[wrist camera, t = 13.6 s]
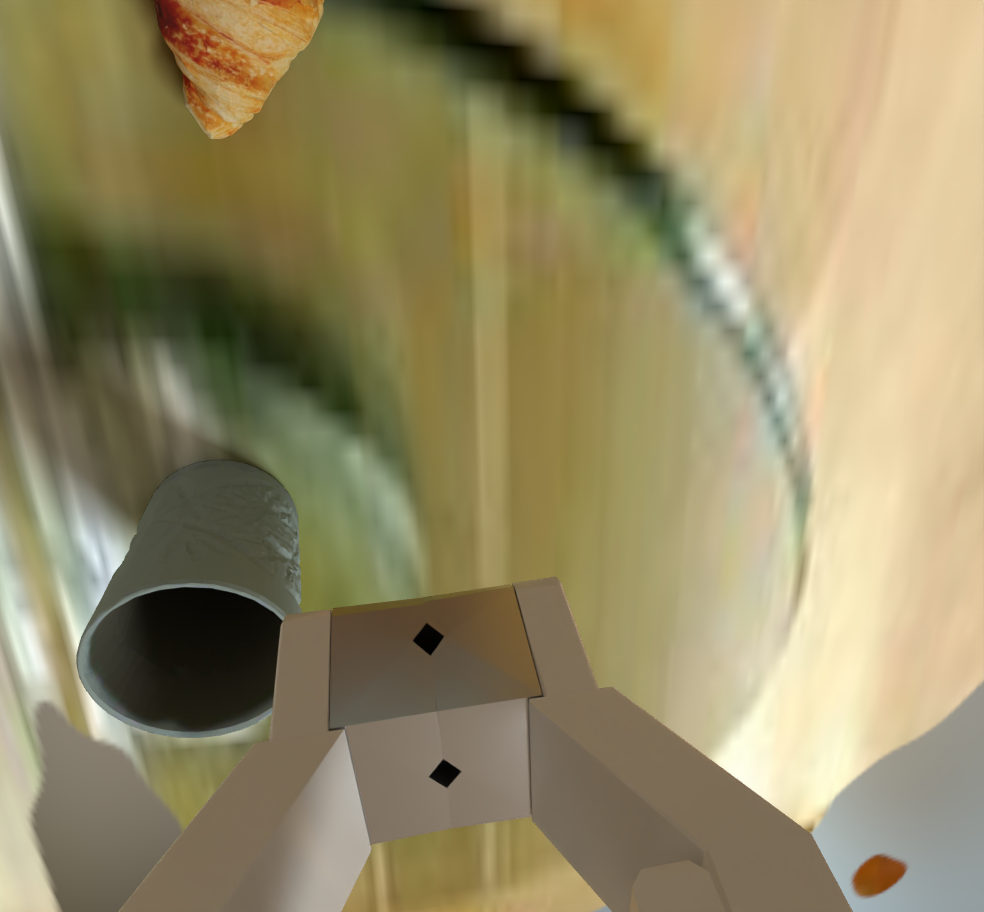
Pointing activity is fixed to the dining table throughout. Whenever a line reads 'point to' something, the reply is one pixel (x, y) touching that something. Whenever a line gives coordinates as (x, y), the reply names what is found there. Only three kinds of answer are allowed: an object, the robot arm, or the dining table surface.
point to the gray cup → (197, 605)
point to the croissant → (234, 53)
